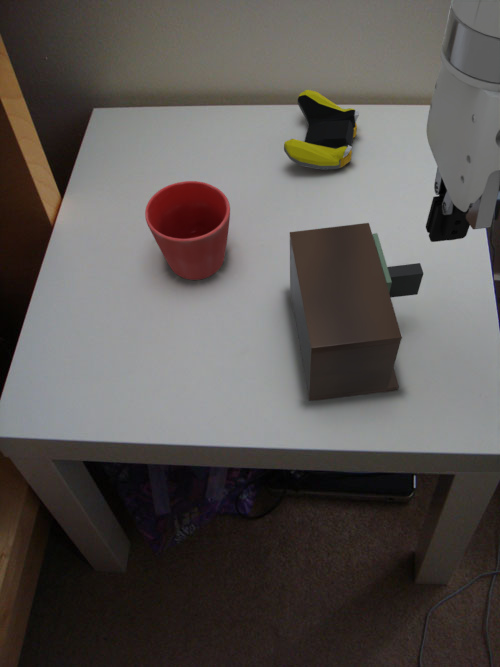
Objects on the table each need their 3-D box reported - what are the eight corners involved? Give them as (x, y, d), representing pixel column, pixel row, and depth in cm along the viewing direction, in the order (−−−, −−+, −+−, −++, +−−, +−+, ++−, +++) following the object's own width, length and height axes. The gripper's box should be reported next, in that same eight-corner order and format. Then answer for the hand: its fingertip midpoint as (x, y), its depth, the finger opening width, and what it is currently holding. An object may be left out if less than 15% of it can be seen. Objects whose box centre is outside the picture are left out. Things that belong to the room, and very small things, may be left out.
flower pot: (201, 218, 88) (191, 167, 80) (251, 259, 83) (246, 209, 75) (143, 258, 84) (127, 208, 76) (192, 302, 80) (181, 255, 72)
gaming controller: (281, 176, 92) (346, 183, 90) (281, 147, 87) (349, 154, 85) (299, 114, 100) (359, 119, 98) (299, 84, 95) (363, 90, 93)
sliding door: (399, 278, 78) (411, 228, 70) (413, 325, 74) (427, 277, 66) (364, 282, 78) (372, 233, 70) (376, 329, 74) (386, 282, 66)
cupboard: (369, 284, 79) (380, 221, 69) (397, 390, 71) (415, 335, 61) (290, 293, 79) (289, 231, 69) (308, 401, 71) (311, 348, 61)
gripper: (615, 101, 34) (515, 295, 49) (522, -30, 42) (461, 171, 57) (484, 117, 34) (425, 306, 49) (417, -17, 42) (384, 180, 57)
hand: (445, 233), depth 53 cm, fingers closed
